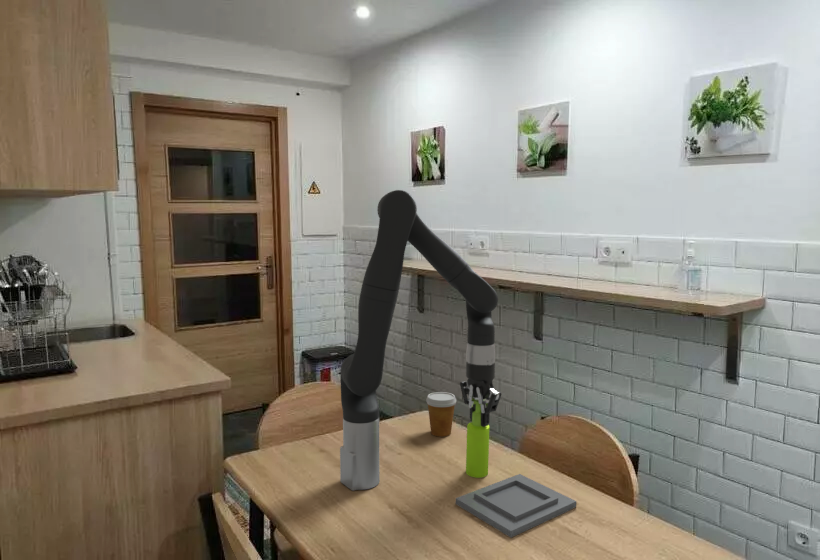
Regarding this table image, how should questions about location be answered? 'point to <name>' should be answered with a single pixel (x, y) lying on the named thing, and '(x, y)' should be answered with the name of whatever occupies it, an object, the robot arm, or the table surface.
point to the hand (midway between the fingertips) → (479, 423)
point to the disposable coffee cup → (441, 412)
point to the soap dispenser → (477, 445)
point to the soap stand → (515, 504)
